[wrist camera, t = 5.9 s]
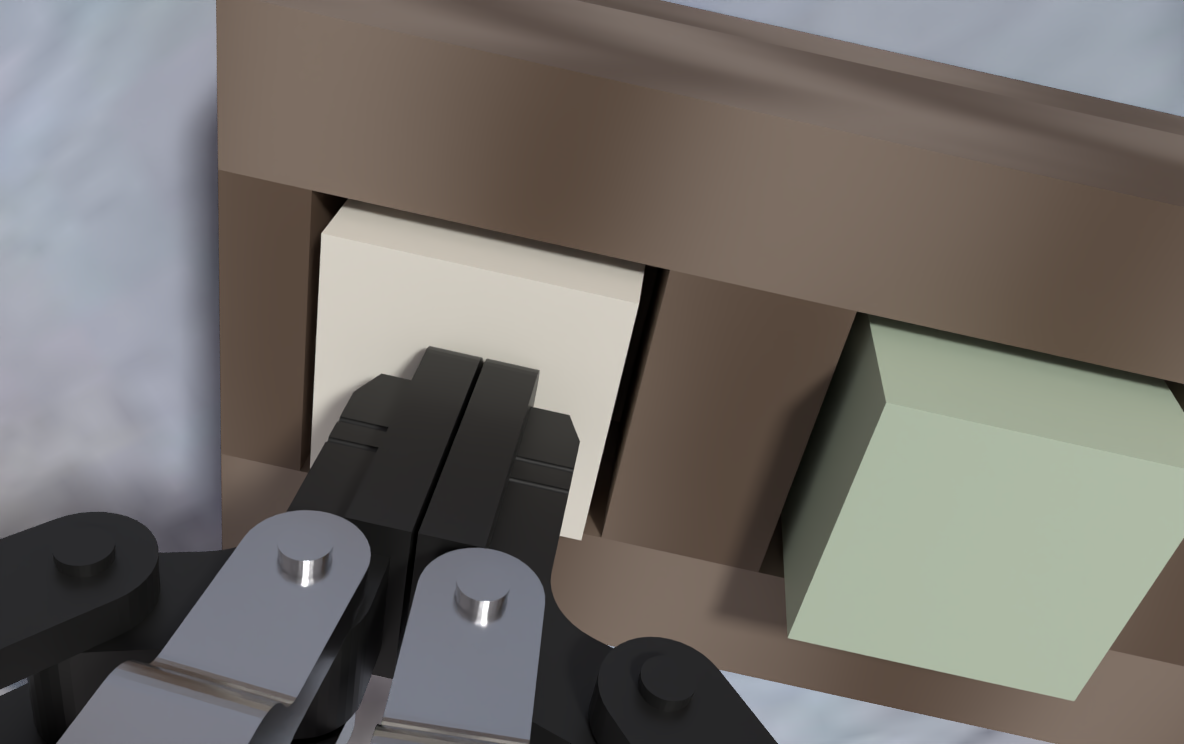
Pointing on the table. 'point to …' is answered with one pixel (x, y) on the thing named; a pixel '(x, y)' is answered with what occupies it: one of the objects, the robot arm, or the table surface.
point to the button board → (706, 277)
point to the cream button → (473, 318)
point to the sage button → (980, 507)
